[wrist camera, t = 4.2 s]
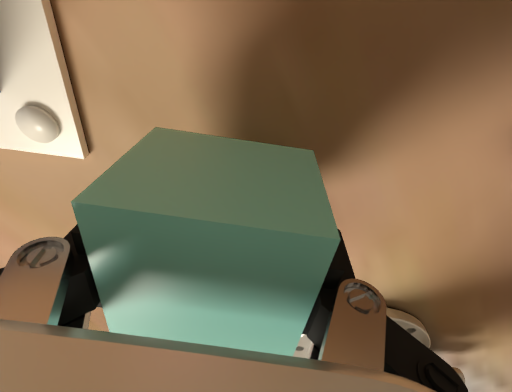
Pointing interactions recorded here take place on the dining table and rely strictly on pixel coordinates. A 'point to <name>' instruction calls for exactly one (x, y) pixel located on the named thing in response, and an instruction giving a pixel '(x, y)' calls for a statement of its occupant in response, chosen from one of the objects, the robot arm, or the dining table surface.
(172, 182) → the teal brick
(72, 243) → the robot arm
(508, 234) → the dining table surface
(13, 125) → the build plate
